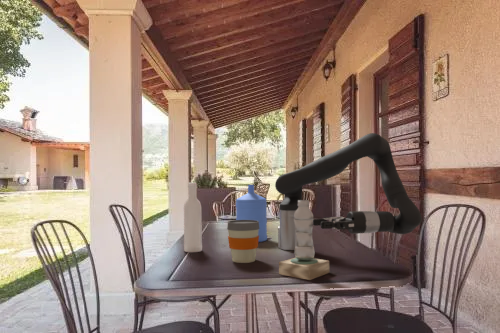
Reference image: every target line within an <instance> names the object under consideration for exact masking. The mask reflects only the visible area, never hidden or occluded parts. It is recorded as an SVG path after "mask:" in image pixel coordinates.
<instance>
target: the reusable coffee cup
mask: <svg viewBox="0 0 500 333" xmlns="http://www.w3.org/2000/svg"><path fill="white" fill-rule="evenodd" d="M259 229H260V228H259V221H256V220H236V219H235V220H234V219H233V220H229V221H227V227H226V230H227V231H228V236H227V239H228V245H229V246H228V247H229V249H230V253H231V259H232V260H231V261H232V263H237V264H239V263H240V264H248V263H253V262H255V261H256V257H257V256H256V254H257V248H259V242H258V240H259V236H258V231H259Z"/></svg>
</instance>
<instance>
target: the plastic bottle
mask: <svg viewBox="0 0 500 333" xmlns="http://www.w3.org/2000/svg"><path fill="white" fill-rule="evenodd" d="M313 219H314V214H313V212H312V210H311V209H310V200H308V199H302V200H298V209H297V210H296V212H295V213H294V222H295V229H296V246H295V250H294V256H295V257H296V259H298V260H302V261H307V260H312V259H313V258H314V259H315V254H316V253H315V247H314V241H313V226H314V225H313ZM295 257H294V258H295Z"/></svg>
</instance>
